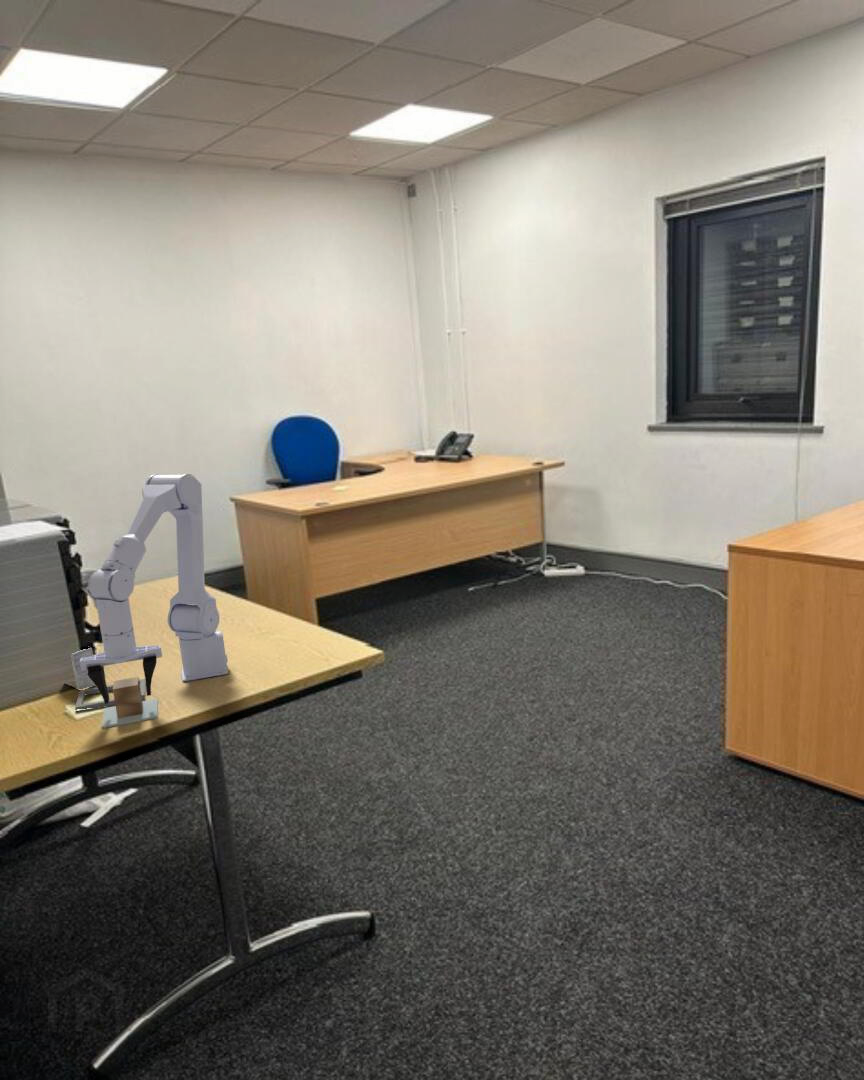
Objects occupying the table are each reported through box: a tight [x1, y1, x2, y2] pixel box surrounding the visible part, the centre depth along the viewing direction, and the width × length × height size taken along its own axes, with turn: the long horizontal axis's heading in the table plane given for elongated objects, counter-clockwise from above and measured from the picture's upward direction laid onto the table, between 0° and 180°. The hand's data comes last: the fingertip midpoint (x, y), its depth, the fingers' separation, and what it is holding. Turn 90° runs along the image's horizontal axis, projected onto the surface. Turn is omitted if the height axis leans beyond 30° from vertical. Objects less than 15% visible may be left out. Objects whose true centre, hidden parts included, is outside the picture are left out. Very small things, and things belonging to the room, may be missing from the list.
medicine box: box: [71, 647, 97, 689], centre depth 168 cm, size 8×4×9 cm, turn 48°
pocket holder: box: [74, 678, 147, 711], centre depth 161 cm, size 13×10×1 cm
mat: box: [101, 698, 159, 729], centre depth 152 cm, size 10×9×1 cm
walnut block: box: [112, 676, 143, 718], centre depth 152 cm, size 4×4×6 cm
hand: (128, 697), depth 151 cm, fingers open, 7 cm apart
